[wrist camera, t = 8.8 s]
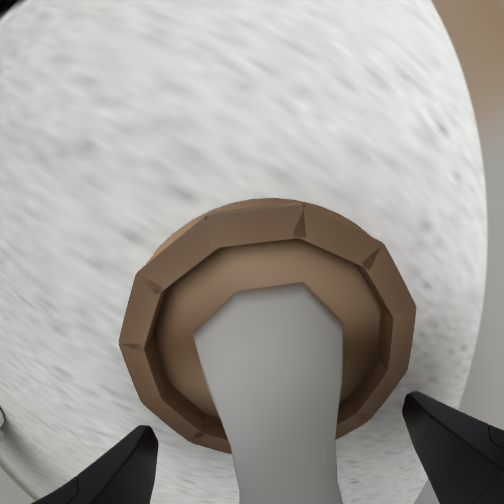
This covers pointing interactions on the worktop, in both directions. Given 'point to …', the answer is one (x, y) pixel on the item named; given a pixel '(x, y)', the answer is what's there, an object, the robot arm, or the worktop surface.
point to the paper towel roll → (0, 421)
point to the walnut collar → (260, 276)
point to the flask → (277, 391)
